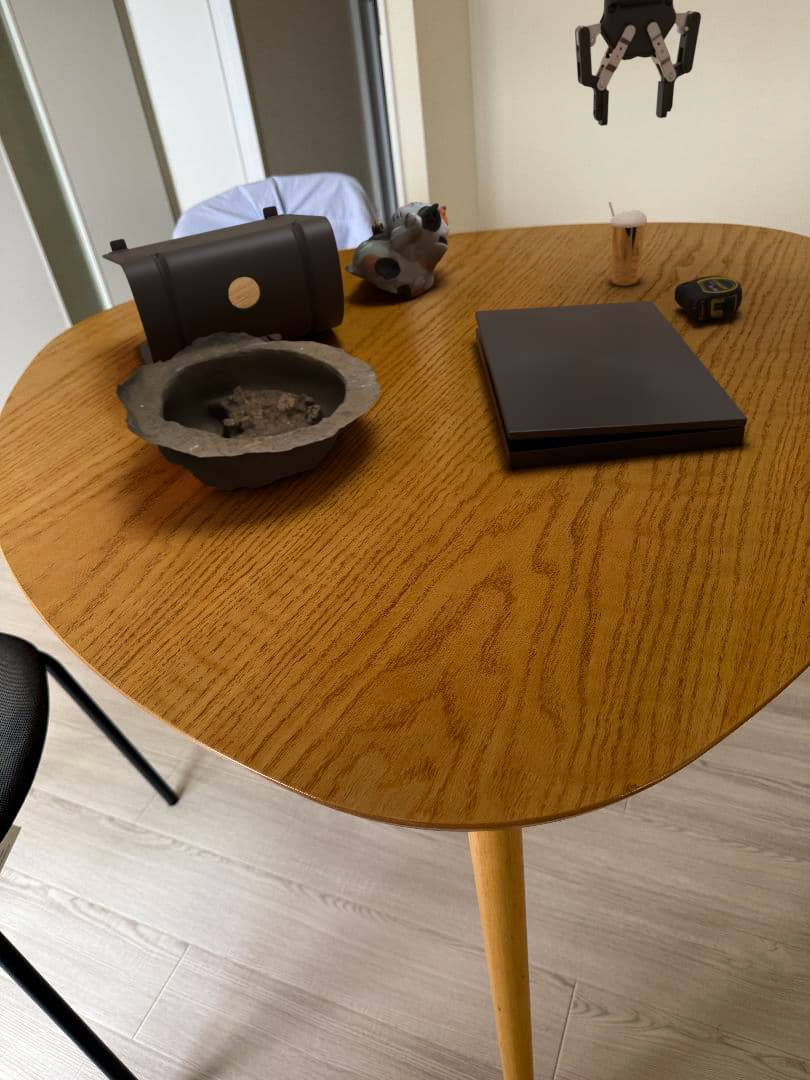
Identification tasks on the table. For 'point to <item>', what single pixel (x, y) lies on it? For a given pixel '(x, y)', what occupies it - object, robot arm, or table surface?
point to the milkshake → (627, 245)
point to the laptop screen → (598, 372)
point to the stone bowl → (247, 406)
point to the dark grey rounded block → (215, 262)
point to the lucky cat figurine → (404, 250)
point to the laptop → (601, 439)
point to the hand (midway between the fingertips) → (631, 120)
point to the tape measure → (709, 297)
